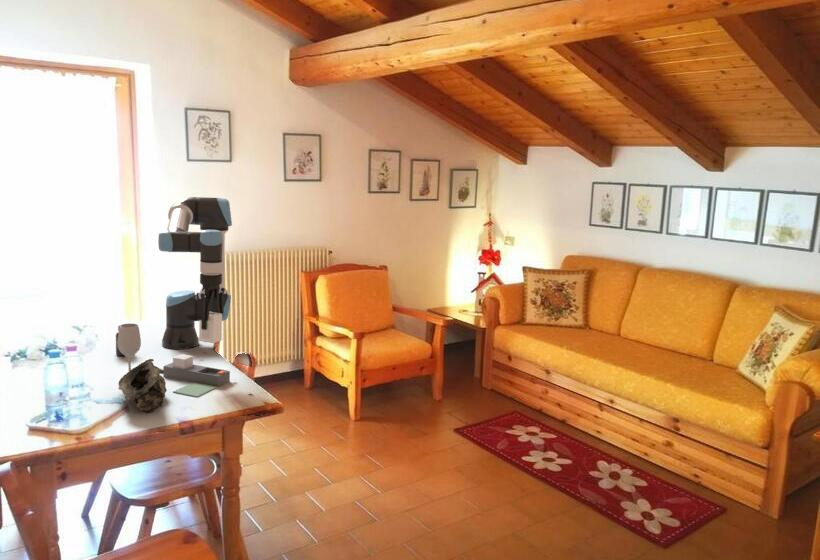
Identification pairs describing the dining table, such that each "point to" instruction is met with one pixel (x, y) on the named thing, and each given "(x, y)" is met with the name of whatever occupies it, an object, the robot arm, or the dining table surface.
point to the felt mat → (194, 389)
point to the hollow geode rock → (144, 386)
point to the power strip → (198, 374)
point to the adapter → (183, 361)
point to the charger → (212, 328)
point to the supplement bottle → (117, 346)
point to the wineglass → (129, 340)
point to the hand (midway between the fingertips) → (210, 335)
